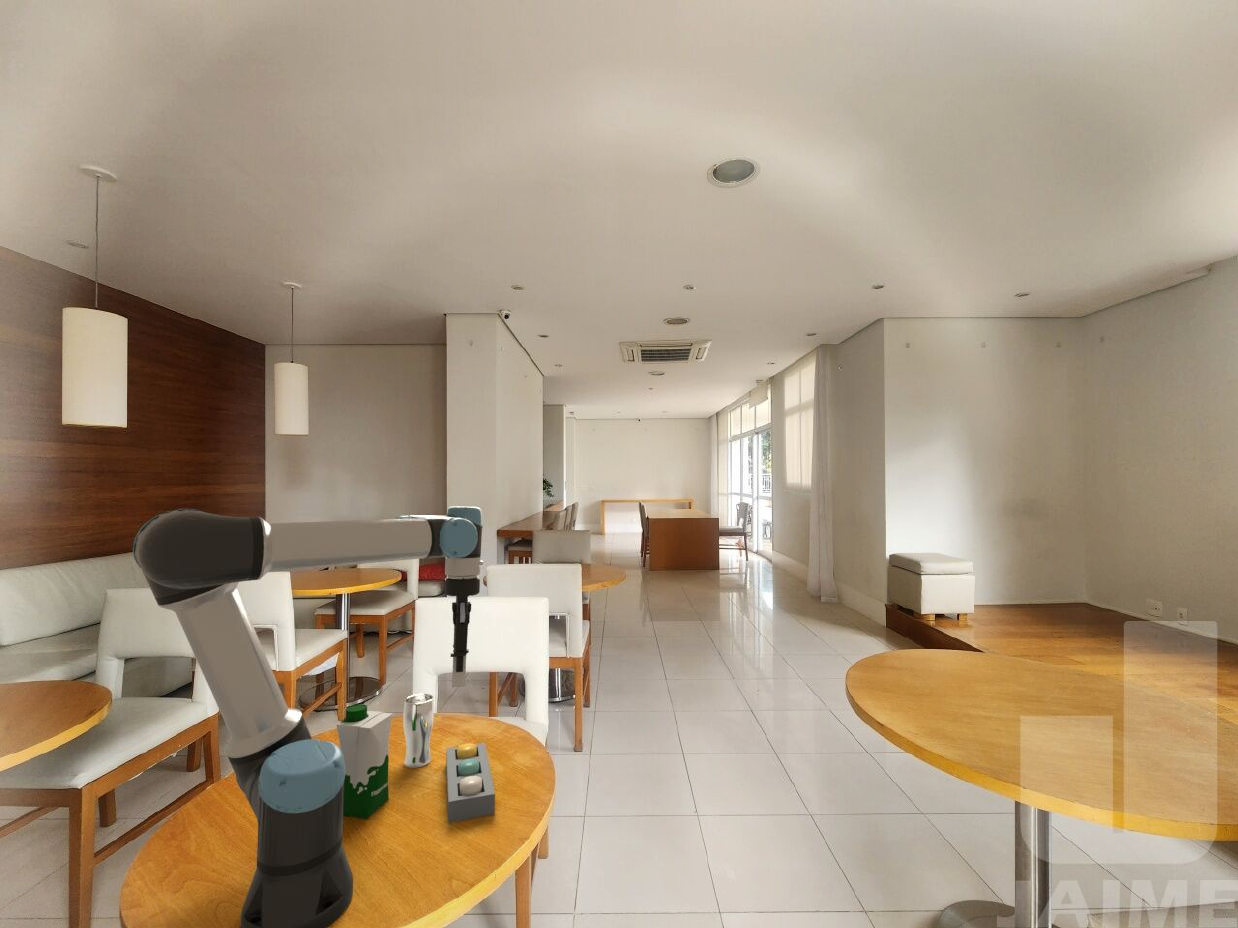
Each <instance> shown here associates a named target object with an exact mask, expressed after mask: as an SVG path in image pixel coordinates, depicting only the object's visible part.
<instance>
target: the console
mask: <svg viewBox="0 0 1238 928" xmlns="http://www.w3.org/2000/svg"><path fill="white" fill-rule="evenodd" d="M474 744H475V745H476V746H477V755H476V757H471V758H464V759H457V748H458V747H459V746H453V747H446V748H445V750H446V751H445V753H446V754H445V755H446V756H445V757H446V758H445V761H446V762H445V767H446V772H445V773H446V797H447V799H446V800H447V824H449V823H454V822H460V821H464V820H465V821H466V820H471V819H476V818H477V819H478V818H483V817H487V816H488V817H489V816H492V815H495V814H496V792H495V788H494V781H493V776H492V772H491V767H490V762H489V756H488V751H487V746H486V745H487V744H486V742H481V743H474ZM465 759H477V760H478V761H479V774H472V775H466V776H459V777H458V764H459V763H460V762H461V761H463V760H465ZM469 776H478V777H480V778H481V779H482V793H476V794H470V795H464V796H460V781H461V780H462V779H464V778H466V777H469Z"/></svg>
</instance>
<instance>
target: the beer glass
mask: <svg viewBox="0 0 1238 928" xmlns="http://www.w3.org/2000/svg"><path fill="white" fill-rule="evenodd" d="M434 710H435V709H434V696H433V695H432V694H430V693H429V694H428V693H417V694H412V695H409V696H407V697H406V698H405V699H404V705H403V713H402V716H403V717H402V721H403V722H402V725H403V733H404V739H405V744H406V747H405V748H406V749H405V750H406V752H405V758H404V761H403V763H404V766H405V767H406V768H409V769H417V768H422V767H425V766H426V765H428V764H430V763H431V761H432V755H431V749H430V744H431V743H430V742H431V738H432V737H431V736H432V733H433V732H432V731H433V726H434V718H435V717H434V716H435V714H434V713H435V712H434Z"/></svg>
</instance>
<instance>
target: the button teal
mask: <svg viewBox="0 0 1238 928" xmlns="http://www.w3.org/2000/svg"><path fill="white" fill-rule="evenodd" d="M472 774H479V761H478V760H477V759H465V760H463V761H461V762H460V763H459V764H458V777H459V776H466V775H472Z"/></svg>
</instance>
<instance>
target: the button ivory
mask: <svg viewBox="0 0 1238 928" xmlns="http://www.w3.org/2000/svg"><path fill="white" fill-rule="evenodd" d="M476 793H482V779H481V778H480V777H478V776H469V777H466V778H464V779H462V780H461V781H460V796H464V795H470V794H476Z"/></svg>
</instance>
